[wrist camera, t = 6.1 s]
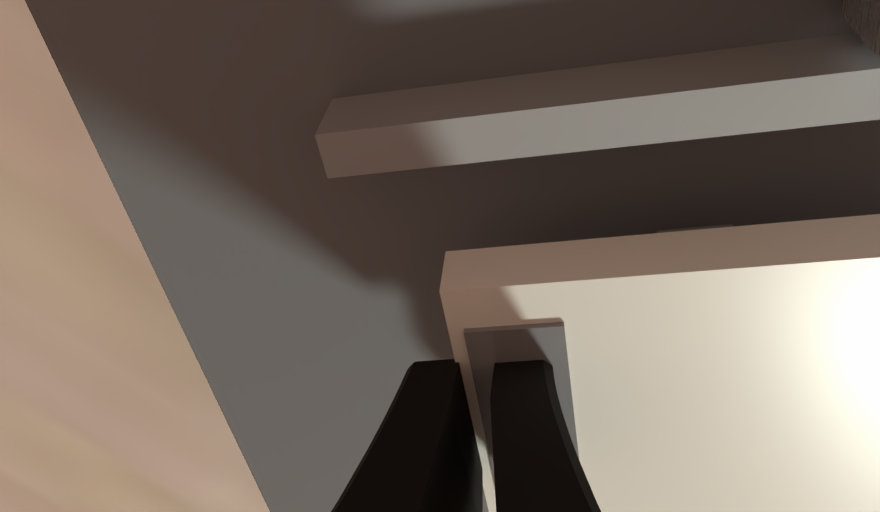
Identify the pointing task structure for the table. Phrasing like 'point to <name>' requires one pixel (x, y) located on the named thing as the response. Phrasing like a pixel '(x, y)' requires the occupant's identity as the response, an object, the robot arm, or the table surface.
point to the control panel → (433, 168)
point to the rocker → (691, 360)
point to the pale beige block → (864, 21)
